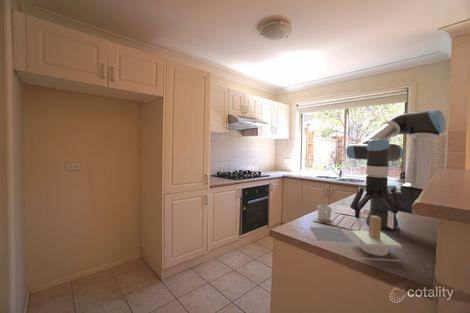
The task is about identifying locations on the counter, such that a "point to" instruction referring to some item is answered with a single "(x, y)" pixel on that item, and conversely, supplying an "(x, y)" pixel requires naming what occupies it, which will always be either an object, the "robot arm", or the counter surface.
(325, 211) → the cup
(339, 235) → the mat
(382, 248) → the ramekin
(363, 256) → the counter surface
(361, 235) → the cover
